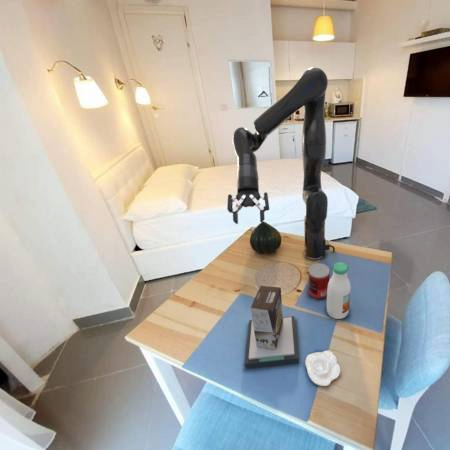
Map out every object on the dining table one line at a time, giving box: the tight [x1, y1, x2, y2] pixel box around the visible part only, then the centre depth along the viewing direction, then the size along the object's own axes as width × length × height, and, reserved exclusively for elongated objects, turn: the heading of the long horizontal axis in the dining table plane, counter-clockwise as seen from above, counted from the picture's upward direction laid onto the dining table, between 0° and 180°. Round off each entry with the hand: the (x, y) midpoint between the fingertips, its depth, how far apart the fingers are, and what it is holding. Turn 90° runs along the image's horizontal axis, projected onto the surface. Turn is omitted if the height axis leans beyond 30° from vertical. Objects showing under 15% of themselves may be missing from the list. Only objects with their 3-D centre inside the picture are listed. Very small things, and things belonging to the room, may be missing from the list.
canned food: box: [308, 263, 331, 300], centre depth 94 cm, size 8×8×11 cm
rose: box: [304, 350, 341, 387], centre depth 69 cm, size 10×4×10 cm
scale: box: [244, 315, 299, 370], centre depth 77 cm, size 15×15×3 cm
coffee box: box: [250, 285, 284, 350], centre depth 73 cm, size 9×6×16 cm
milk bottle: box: [326, 261, 352, 320], centre depth 84 cm, size 8×8×20 cm
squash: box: [249, 220, 282, 255], centre depth 121 cm, size 14×15×15 cm
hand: (249, 222), depth 86 cm, fingers open, 8 cm apart
